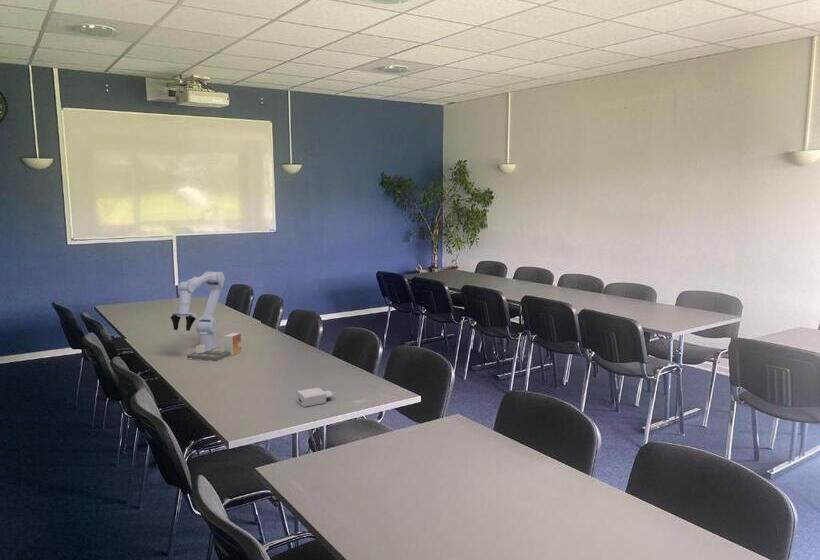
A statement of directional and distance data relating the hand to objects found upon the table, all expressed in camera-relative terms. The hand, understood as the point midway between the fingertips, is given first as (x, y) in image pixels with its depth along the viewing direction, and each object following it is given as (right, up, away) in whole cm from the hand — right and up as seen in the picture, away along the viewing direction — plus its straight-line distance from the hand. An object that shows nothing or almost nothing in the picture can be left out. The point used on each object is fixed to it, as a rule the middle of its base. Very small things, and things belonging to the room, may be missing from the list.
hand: (181, 330), depth 312 cm
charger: (+81, -24, -67) cm, 108 cm away
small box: (+24, -14, +11) cm, 29 cm away
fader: (+8, -12, +5) cm, 15 cm away
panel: (+13, -15, +4) cm, 20 cm away
